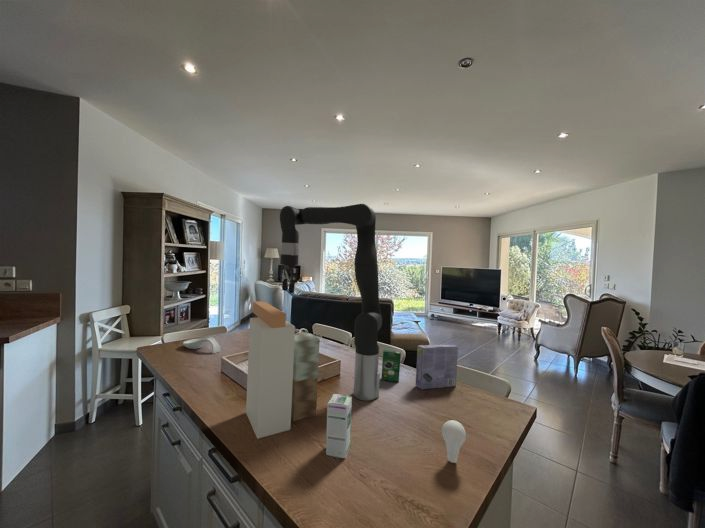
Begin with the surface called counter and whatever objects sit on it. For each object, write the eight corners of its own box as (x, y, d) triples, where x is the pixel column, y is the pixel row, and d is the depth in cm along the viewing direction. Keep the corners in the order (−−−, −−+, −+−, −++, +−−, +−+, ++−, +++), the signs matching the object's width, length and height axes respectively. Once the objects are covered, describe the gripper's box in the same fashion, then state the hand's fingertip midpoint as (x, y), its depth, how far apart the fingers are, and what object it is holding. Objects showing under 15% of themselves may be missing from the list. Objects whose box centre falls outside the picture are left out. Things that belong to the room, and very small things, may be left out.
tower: (307, 404, 106) (310, 333, 105) (316, 415, 99) (319, 338, 98) (285, 409, 101) (288, 335, 101) (293, 421, 95) (296, 341, 94)
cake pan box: (451, 381, 133) (453, 342, 132) (458, 386, 128) (461, 346, 128) (414, 385, 127) (416, 345, 126) (420, 390, 122) (422, 348, 122)
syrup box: (346, 459, 78) (348, 405, 78) (324, 455, 79) (327, 402, 79) (350, 446, 83) (352, 395, 83) (330, 442, 85) (332, 392, 84)
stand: (275, 406, 104) (279, 316, 103) (290, 429, 90) (295, 326, 89) (245, 412, 98) (249, 318, 98) (257, 438, 85) (261, 328, 84)
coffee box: (399, 380, 132) (401, 351, 131) (399, 382, 129) (400, 353, 129) (381, 377, 133) (383, 349, 133) (381, 380, 130) (382, 351, 130)
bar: (252, 312, 108) (253, 301, 108) (263, 311, 110) (263, 301, 110) (272, 328, 86) (272, 314, 86) (285, 327, 88) (286, 313, 88)
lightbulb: (436, 454, 81) (438, 415, 81) (458, 454, 82) (460, 415, 82) (445, 470, 75) (448, 428, 75) (468, 470, 76) (470, 428, 76)
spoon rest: (177, 348, 161) (178, 335, 161) (197, 343, 171) (197, 331, 171) (207, 356, 151) (208, 342, 151) (226, 350, 161) (226, 337, 161)
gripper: (275, 253, 129) (274, 290, 129) (286, 253, 117) (284, 294, 117) (292, 254, 133) (290, 289, 133) (304, 254, 121) (302, 293, 121)
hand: (287, 291), depth 125 cm, fingers open, 8 cm apart
